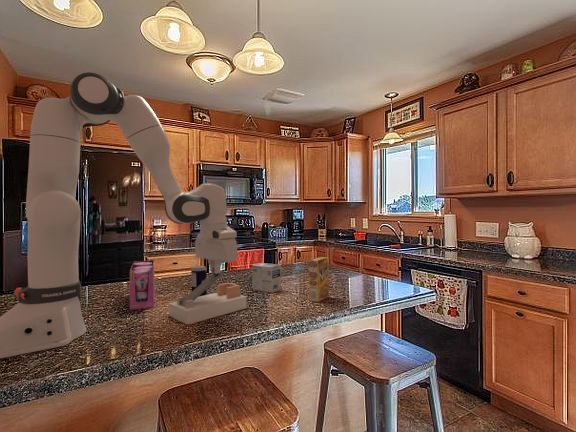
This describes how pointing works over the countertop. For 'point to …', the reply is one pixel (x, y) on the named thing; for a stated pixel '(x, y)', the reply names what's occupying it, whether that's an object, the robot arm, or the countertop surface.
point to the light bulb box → (266, 277)
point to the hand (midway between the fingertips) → (215, 272)
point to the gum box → (142, 285)
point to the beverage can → (198, 277)
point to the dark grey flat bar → (202, 287)
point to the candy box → (318, 279)
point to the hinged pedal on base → (209, 304)
